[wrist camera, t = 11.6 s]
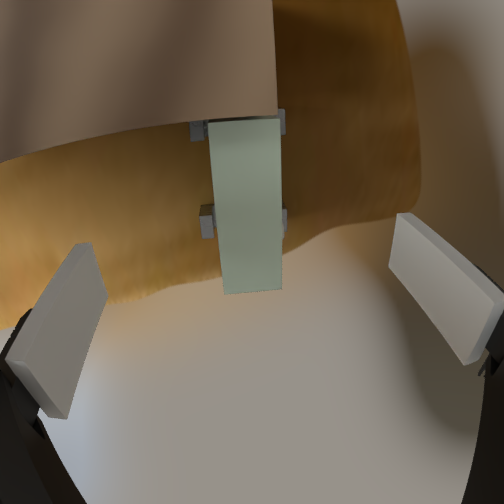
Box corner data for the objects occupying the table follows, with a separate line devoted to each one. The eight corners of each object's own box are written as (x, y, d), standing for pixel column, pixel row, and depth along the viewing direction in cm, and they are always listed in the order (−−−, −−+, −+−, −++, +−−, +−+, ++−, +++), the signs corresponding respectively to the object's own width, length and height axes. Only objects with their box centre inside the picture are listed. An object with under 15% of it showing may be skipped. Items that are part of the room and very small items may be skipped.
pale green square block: (222, 226, 28) (224, 294, 19) (212, 111, 23) (207, 123, 14) (272, 222, 28) (297, 287, 19) (269, 107, 23) (299, 118, 15)
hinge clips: (203, 226, 28) (202, 238, 26) (191, 113, 23) (188, 115, 21) (281, 219, 29) (286, 231, 26) (278, 107, 24) (284, 108, 22)
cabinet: (13, 146, 22) (-90, 200, 10) (4, 58, 18) (-105, 68, 5) (247, 102, 23) (278, 114, 11) (241, 0, 19) (265, -82, 7)
